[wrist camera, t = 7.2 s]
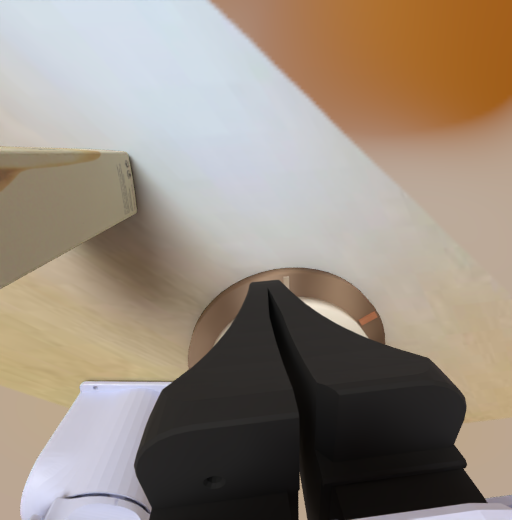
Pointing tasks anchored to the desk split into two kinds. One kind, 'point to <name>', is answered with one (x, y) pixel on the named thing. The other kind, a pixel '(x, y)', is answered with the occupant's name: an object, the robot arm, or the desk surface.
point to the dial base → (301, 285)
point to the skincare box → (57, 202)
